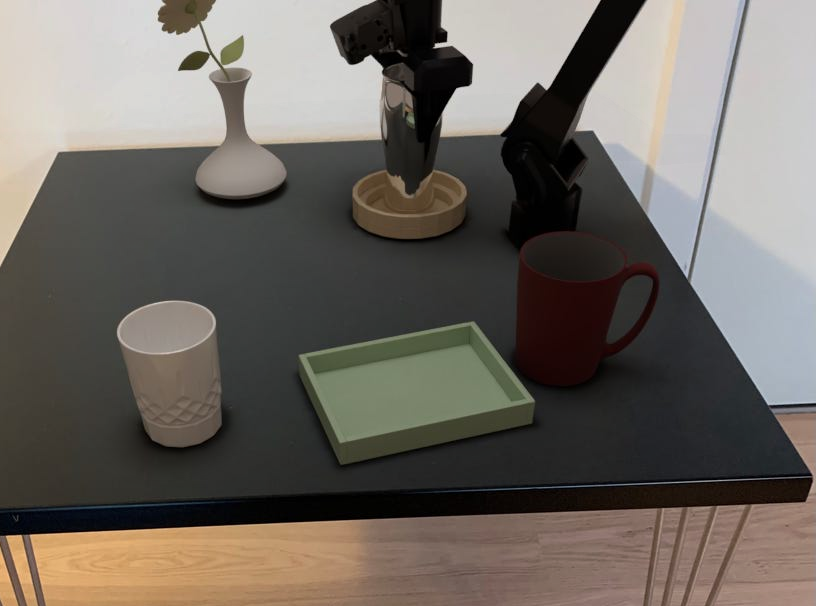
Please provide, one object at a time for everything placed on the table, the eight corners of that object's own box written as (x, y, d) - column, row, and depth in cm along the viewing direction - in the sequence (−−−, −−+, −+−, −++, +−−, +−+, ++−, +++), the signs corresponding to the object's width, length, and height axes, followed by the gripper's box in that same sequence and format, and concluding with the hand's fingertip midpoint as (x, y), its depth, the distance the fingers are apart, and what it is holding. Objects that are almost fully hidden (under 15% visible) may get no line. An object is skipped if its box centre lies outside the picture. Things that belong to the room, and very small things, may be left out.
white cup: (142, 400, 82) (121, 303, 75) (229, 393, 82) (216, 297, 75) (135, 456, 76) (111, 357, 69) (229, 449, 76) (215, 350, 69)
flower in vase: (268, 163, 119) (250, -52, 102) (301, 196, 112) (287, -30, 95) (173, 183, 116) (138, -37, 99) (200, 219, 108) (167, -13, 91)
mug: (634, 341, 86) (659, 234, 79) (644, 397, 80) (672, 286, 72) (507, 334, 88) (519, 229, 80) (507, 388, 81) (520, 279, 74)
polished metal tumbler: (434, 219, 103) (441, 83, 93) (374, 215, 104) (374, 81, 94) (441, 193, 108) (448, 61, 98) (384, 189, 109) (385, 59, 99)
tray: (472, 342, 87) (474, 320, 85) (532, 423, 77) (535, 401, 76) (299, 376, 84) (298, 354, 82) (340, 465, 74) (339, 442, 73)
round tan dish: (440, 184, 113) (441, 160, 111) (482, 230, 104) (484, 206, 102) (339, 200, 110) (338, 176, 108) (373, 249, 101) (373, 224, 99)
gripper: (312, -40, 95) (318, 111, 105) (366, 7, 82) (367, 174, 92) (411, -51, 97) (408, 98, 108) (480, -7, 84) (469, 158, 94)
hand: (410, 130), depth 100 cm, fingers closed on polished metal tumbler, 7 cm apart
